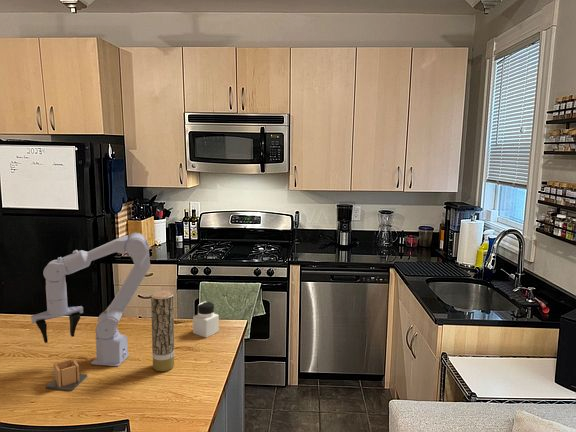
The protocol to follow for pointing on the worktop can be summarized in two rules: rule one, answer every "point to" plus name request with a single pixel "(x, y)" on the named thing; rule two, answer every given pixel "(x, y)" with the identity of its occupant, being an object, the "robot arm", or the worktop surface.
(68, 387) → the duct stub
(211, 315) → the medicine bottle
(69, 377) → the brown hollow box
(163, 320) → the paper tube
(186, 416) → the worktop surface
